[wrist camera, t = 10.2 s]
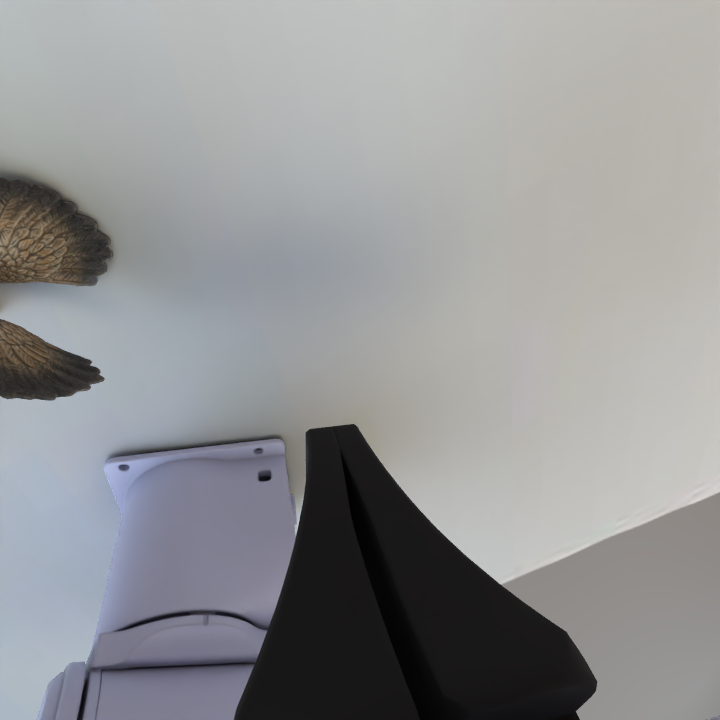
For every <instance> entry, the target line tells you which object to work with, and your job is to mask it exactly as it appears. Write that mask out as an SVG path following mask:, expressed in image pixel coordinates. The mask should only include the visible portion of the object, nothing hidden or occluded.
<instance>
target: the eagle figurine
mask: <svg viewBox="0 0 720 720" xmlns="http://www.w3.org/2000/svg"><path fill="white" fill-rule="evenodd" d="M59 199H60V196H59V195H58V194H57V193H55V192H54V191H52V190H47V189H45V188H43V187H40V186H36V185H34V186H31V185H29V184H28V183H26V182H24V181H19V180H17V181H11V182H10V181H7V180H6V179H2V178H1V179H0V283H27V282H47V283H56V284H69V285H76V286H93V285H95V284H96V283H97V276H99V275H101V274H103V273H105V272H106V270H107V269H106V266H105V264H104V262H106V261H109V260H110V259H111V258H112V255H113V254H112V251H110V250H109V249H108V246H109V245H110V240H109V238H108V237H107V236H105V235H103V234H101V233H99V232H98V231H97V230H96V229H97V228H98V226H97V224H96V222H94V221H93V220H92V219H90V218H88V217H85V216H81V215H76V214H75V211H76V209H77V208H76V206H75V205H74V204H73V203H71V202H65V201H61V200H59ZM91 363H92V361H91V360H88V359H85V358H83V357H81V356H78V355H75V354H72V353H70V352H67V351H64V350H62V349H60V348H58V347H56V346H54V345H51V344H49V343H47V342H45V341H44V340H42V339H41V338H39V337H38V336H36V335H34V334H32V333H30V332H28V331H27V330H25V329H24V328H22V327H20V326H18V325H15V324H12V323H10V322H7V321H5V320H2V319H0V396H1V397H3V398H6V399H13V398H21V399H28V400H32V399H41V400H55V399H56V397H66V396H72V395H73V394H75V393H76V392H78V391H87V390H89V389H90V388H91V386H90V385H91V384H95V383H99V382H102V381H104V380H105V379H104V377H102V376H100V375H99V374H100V370H99V369H98V368H97V367H93V366H90V364H91Z"/></svg>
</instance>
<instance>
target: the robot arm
mask: <svg viewBox="0 0 720 720" xmlns="http://www.w3.org/2000/svg"><path fill="white" fill-rule="evenodd" d="M257 448H261V449H257ZM122 464H126V465H122ZM103 468H104V472H105V474H106V477H107V479H108V482H109V484H110V487H111V489H112V492H113V495H114V497H115V500H116V502H117V505H118V507H119V510H120V512H121V515H122V517H121V521H120V526H119V530H118V535H117V539H116V543H115V548H114V552H113V557H112V561H111V566H110V570H109V575H108V579H107V584H106V588H105V593H104V597H103V602H102V606H101V611H100V615H99V620H98V624H97V629H96V633H95V637H94V642H93V646H92V650H91V653H90V655H89V658H88V660H87V662H86V665H85V662H72V663H69V664H68V665H67V666H66V668H65V670H64V672H61V673H60V674H59V675H57V676H56V677H55V678H54V679H53V680H52V681H50V682H49V684H48V686H47V689H46V692H45V695H44V698H43V701H42V704H41V707H40V711H39V714H38V717H37V720H580V719H579V717H578V715H577V713H576V710H578V709H579V708H580V707H581V706H582V705H583V704H584V703H585V702H586V701H587V700H588V699H589V698H590V697H591V696H592V695H593V694H594V693H595V691H596V687H597V680H596V679H595V677H594V675H593V673H592V671H591V670H590V668H589V666H588V664H587V662H586V661H585V659H584V658H583V656H582V654H581V653H580V651H579V650H578V648H577V647H576V645H575V644H574V642H573V641H572V640H571V638H570V637H569V635H568V634H567V632H566V631H564V630H563V629H561V628H560V627H558V626H557V625H555V624H554V623H552V622H551V621H550V620H548V619H547V618H545V617H543V616H542V615H541V614H539V613H538V612H536V611H535V610H534V609H532V608H531V607H530V606H528V605H527V604H525V603H524V602H523V601H521V600H520V599H519V598H517V597H516V596H515V595H513V594H512V593H511V592H509V591H508V590H507V589H505V588H504V587H502V585H500V584H499V583H498V582H497V581H495V580H494V579H493V578H492V577H491V576H489V575H488V574H487V573H486V572H485V571H483V570H482V569H481V568H480V567H479V566H477V565H476V564H475V563H474V562H473V561H471V560H470V559H469V558H468V557H467V556H466V555H464V554H463V553H462V552H461V551H460V550H459V549H458V548H457V547H456V546H455V545H454V544H453V543H451V542H450V541H449V540H448V539H447V538H446V537H445V536H444V535H443V534H442V533H441V532H440V531H439V530H438V529H437V528H436V527H435V526H434V525H433V524H432V523H431V522H430V521H429V520H428V519H427V518H426V516H425V515H424V514H423V513H422V512H421V511H420V510H419V509H418V508H417V507H416V505H415V504H414V503H413V502H412V501H411V500H410V499H409V497H408V496H407V495H406V494H405V493H404V491H403V490H402V489H401V488H400V487H399V485H398V484H397V483H396V481H395V480H394V479H393V478H392V476H391V475H390V474H389V473H388V471H387V470H386V469H385V467H384V466H383V465H382V463H381V462H380V461H379V459H378V458H377V456H376V455H375V453H374V452H373V451H372V449H371V448H370V446H369V445H368V443H367V442H366V440H365V438H364V437H363V435H362V434H361V432H360V430H359V429H358V427H357V426H356V425H354V424H350V425H342V426H333V427H325V428H316V429H310V430H308V431H307V432H306V485H305V493H304V500H303V505H302V511H301V516H300V521H299V526H298V531H297V535H296V536H295V528H294V526H295V525H296V524H297V519H296V507H295V499H294V494H290V490H289V482H288V475H287V467H286V459H285V446H284V442H283V441H282V440H281V439H268V440H260V441H251V442H242V443H234V444H225V445H216V446H208V447H199V448H190V449H182V450H173V451H164V452H156V453H147V454H138V455H130V456H121V457H113V458H109V459H107V460H106V461H105V463H104V467H103ZM707 720H720V716H717V717H713V718H710V719H707Z"/></svg>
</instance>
